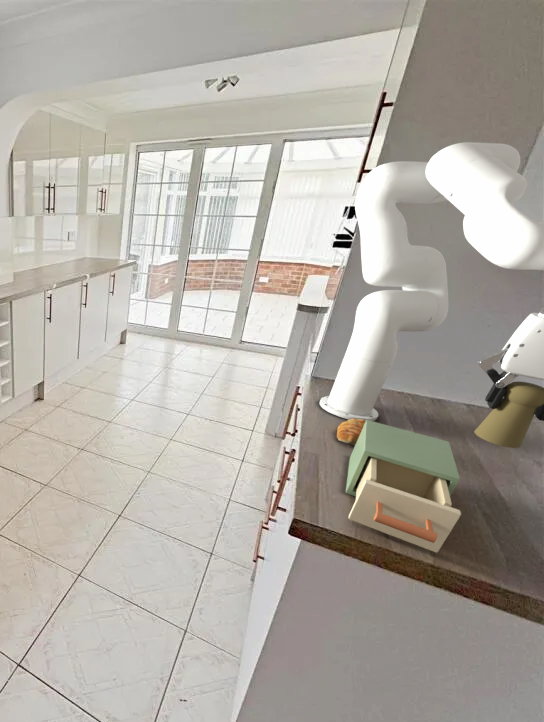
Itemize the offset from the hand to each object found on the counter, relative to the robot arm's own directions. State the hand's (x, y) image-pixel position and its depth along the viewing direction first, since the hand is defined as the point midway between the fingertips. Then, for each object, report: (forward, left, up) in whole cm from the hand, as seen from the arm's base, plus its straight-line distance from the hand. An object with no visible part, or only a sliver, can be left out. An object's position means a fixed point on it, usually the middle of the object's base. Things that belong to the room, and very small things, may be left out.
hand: (514, 410), depth 72 cm
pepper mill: (0, 0, -6) cm, 6 cm away
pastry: (-8, -19, -17) cm, 27 cm away
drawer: (+23, -13, -16) cm, 31 cm away
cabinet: (+10, -13, -17) cm, 24 cm away
